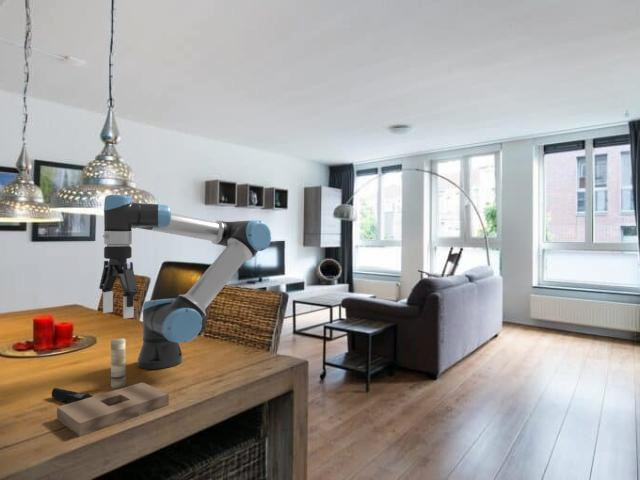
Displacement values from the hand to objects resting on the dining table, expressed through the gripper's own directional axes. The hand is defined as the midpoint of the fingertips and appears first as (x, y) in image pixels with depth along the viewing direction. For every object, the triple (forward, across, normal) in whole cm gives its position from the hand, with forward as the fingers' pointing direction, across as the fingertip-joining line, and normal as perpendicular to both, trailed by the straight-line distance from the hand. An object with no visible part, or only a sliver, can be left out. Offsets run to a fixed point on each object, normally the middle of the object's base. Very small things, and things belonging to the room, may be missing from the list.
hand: (117, 315), depth 122 cm
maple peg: (+22, 0, 0) cm, 22 cm away
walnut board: (+22, +18, -9) cm, 30 cm away
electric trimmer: (+22, +2, -13) cm, 26 cm away
